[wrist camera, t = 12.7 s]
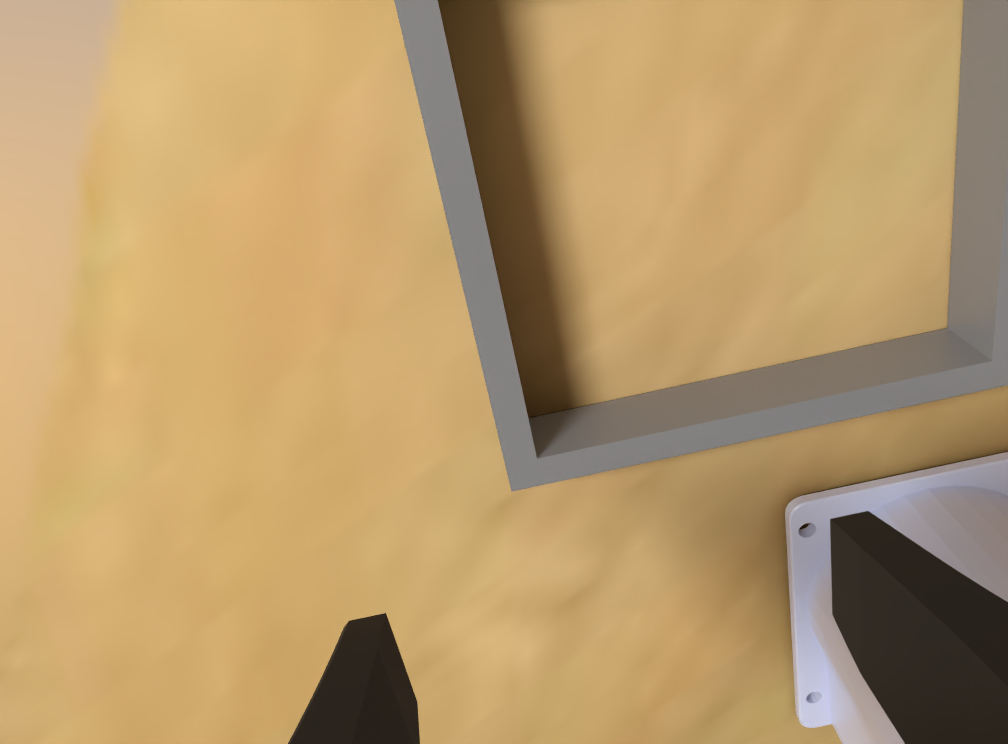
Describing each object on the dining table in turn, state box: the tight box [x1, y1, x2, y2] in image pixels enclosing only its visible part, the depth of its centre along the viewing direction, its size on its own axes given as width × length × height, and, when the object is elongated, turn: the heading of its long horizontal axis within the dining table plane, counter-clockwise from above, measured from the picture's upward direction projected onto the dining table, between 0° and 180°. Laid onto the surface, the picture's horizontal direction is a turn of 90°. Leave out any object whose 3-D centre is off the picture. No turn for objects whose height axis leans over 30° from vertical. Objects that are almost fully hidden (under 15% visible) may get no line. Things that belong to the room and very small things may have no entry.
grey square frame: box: [394, 0, 1008, 491], centre depth 19 cm, size 13×13×2 cm
